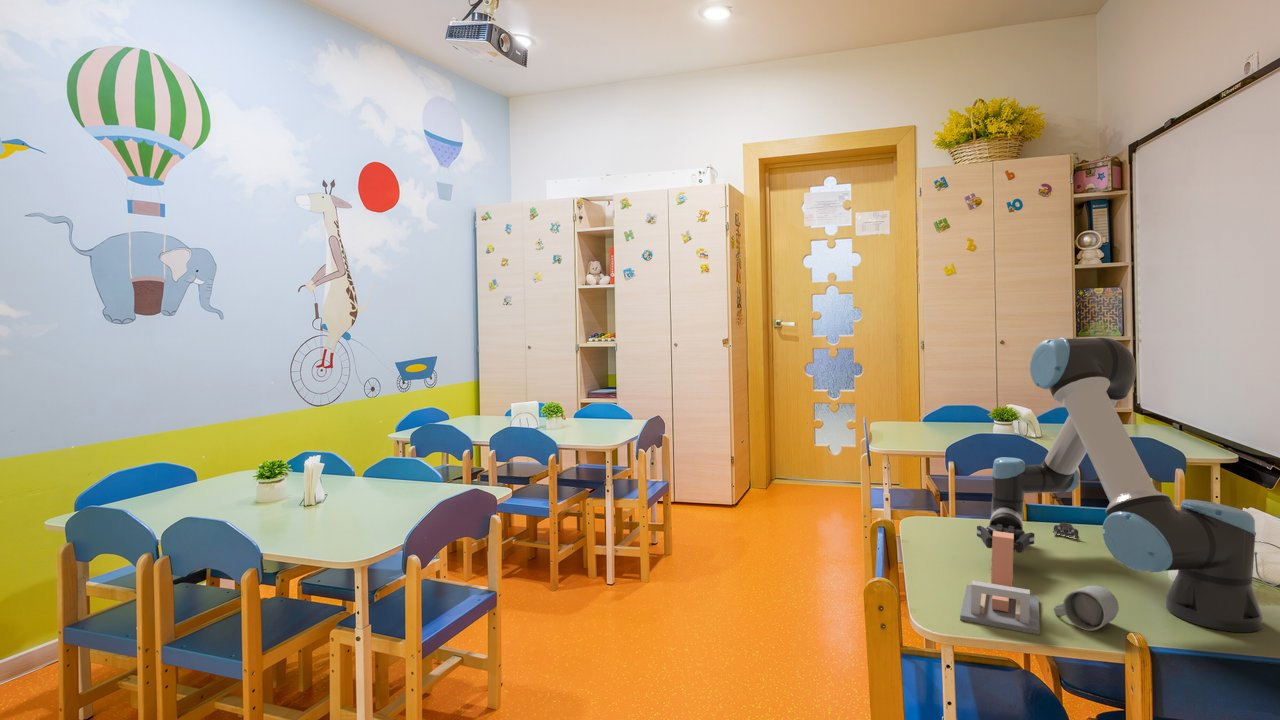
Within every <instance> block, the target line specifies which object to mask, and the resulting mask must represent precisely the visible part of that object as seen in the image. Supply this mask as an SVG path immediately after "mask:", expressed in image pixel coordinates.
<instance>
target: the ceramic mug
mask: <svg viewBox="0 0 1280 720" xmlns="http://www.w3.org/2000/svg"><path fill="white" fill-rule="evenodd" d="M1052 609H1053V611H1054V614H1055V616H1060V617H1062V616H1065V617H1066V618H1067V620H1069V621H1070V623H1071V624H1072V625H1074V626H1075V627H1076V628H1078V629H1081V630H1084V631H1089V632H1092V631H1093V632H1094V631H1097V630H1099V629H1101V628H1102V627H1105V626H1106V625H1107V624H1109V623H1111V622H1112V621H1113V620H1115V618H1116V617H1117V615H1118V613H1119V610H1120V607H1119V601H1118V600H1117V597H1115V595H1114V594H1113V593H1112V592H1111V591H1110V590H1109V589H1108V588H1105V587H1103V586H1100V585H1087V586H1084V587H1081V588H1078V589H1076V590H1075V589H1074V590H1073V591H1070V592H1069V593H1067V595H1066V596H1065V597H1064V599H1063V603H1061V604H1058V605H1055V606H1054V607H1052Z"/></svg>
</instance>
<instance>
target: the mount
mask: <svg viewBox="0 0 1280 720" xmlns="http://www.w3.org/2000/svg"><path fill="white" fill-rule="evenodd" d="M992 595H994V596H1000V597H1006V598H1009V608H1008V612H1006V611H1000V610H995V609H992ZM1039 603H1040V601H1039V596H1037V595H1031V589H1026V588H1021V587H1016V586H1015V587H1014V586H1012V587H1009V586H1003V585H997V584H991V582H984V581H977V580H972V581H971V584H966V588H965V593H964V598H963V603H962V605H961V606H962V607H961V611H960V614H959V617H960V618H959V621H963V620H965V621H964V622H968V621H970V622H969V623H974V622H975V624H980V625H986V626H990V627H996V628H1000V629H1006V630H1011V631H1017V632H1021V633H1028V634H1032V633H1033V635H1038V636H1040V633H1041V632H1040V631H1041V630H1040V627H1041V626H1040V606H1039V605H1040V604H1039Z"/></svg>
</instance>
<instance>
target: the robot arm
mask: <svg viewBox="0 0 1280 720" xmlns="http://www.w3.org/2000/svg"><path fill="white" fill-rule="evenodd" d="M1029 371H1030V377H1031V380H1032V382H1033V384H1034V385H1036V387H1038V388H1040V389H1043V390H1049V392H1050V394H1051V396H1052V397H1053V400H1054V401H1055V403H1058V404H1060V405H1063V406H1065V408H1066V410H1067V412H1068V416H1067V417H1066V420H1065V422H1064V423H1063V425H1062V427H1061V429H1060V431H1059V432H1058V434H1057V436H1056V437H1055V440H1054V441H1053V443H1052V445H1051V448H1050V449H1049V451H1048V452H1047V454H1046V456H1045V458H1044V459H1043V461H1042V462H1041V464H1025V461H1024V460H1023V459H1020V458H1017V457H1006V456H1005V457H1004V456H1003V457H997V458H995V459H994V461H993V466H992V473H991V475H992V495H991V512H990V513H991V515H990V521H989V525H988V526H986V527H985V526H981V525H977V526H976V537H978V538H980V539H981V541H982V542H983V543H984V546H985V547H986V548H987V549H992V536H993V531H999V532H1006V533H1014V546H1013V551H1015V552H1016V553H1019V554H1020V553H1022V552H1023V551H1025V549H1026V550H1027V548H1028V547H1030V546H1031V545H1034V544H1035V533H1034V532H1025V530H1023V528H1024V527H1023V526H1024V523H1023V522H1024V516H1025V515H1024V502H1025V501H1024V500H1025V495H1026V494H1046V493H1047V494H1051V493H1053V494H1054V493H1055V494H1056V493H1057V494H1062V493H1066V492H1067V493H1068V492H1073V491H1075V490H1076V489H1077V488H1078V487H1079V485H1080V482H1079V480H1080V479H1081V478H1080V474H1079V471H1078V468H1079V466H1080V465H1081V463H1082V461H1083V459H1084V458H1085V456H1086V455H1088V458H1089V460H1090V462H1091V465H1092V466H1093V467H1092V468H1093V469H1094V471H1095V473H1096V475H1097V477H1098V479H1099V482H1100V484H1101V486H1102V488H1103V490H1104V493H1105V495H1106V496H1107V497H1106V498H1107V499H1108V501H1109V504H1108V505H1107V507H1106V509H1105V513H1106V516H1107V517H1106V518H1105V519H1104V521H1103V523H1102V529H1103V530H1104V531H1102V537H1103V538H1102V539H1103V541H1104V544H1105V546H1106V549H1108V551H1109V553H1110V554H1111V556H1112V557H1113V558H1114V560H1116V561H1117V562H1118V563H1120V564H1121V565H1123V566H1125V567H1127V568H1129V569H1130V570H1133V571H1137V572H1149V573H1162V572H1164V571H1177V574H1176V576H1175V578H1174V580H1173V582H1172V584H1171V586H1170V588H1169V590H1168V593H1167V594H1166V599H1165V600H1166V601H1165V602H1166V604H1165V608H1166V610H1167V612H1169V613H1170V614H1172V615H1174V616H1175V617H1177V618H1179V619H1181V620H1183V621H1186V622H1189V623H1192V624H1195V625H1197V626H1200V627H1201V626H1202V627H1205V628H1210V629H1213V630H1218V631H1224V632H1225V631H1226V632H1233V633H1252V632H1257V631H1259V630H1261V629H1262V628H1263V614H1262V611H1261V608H1260V604H1259V602H1258V600H1257V596H1256V594H1255V590H1254V587H1253V573H1254V560H1255V558H1254V557H1255V545H1256V536H1257V532H1256V525H1255V524H1256V522H1255V521H1256V520H1255V518H1254V516H1253V515H1252V514H1251V513H1249V512H1248V511H1245V510H1244V509H1240V508H1237V507H1234V506H1230V505H1225V504H1221V503H1217V502H1211V501H1206V500H1205V501H1204V500H1198V499H1182V501H1181V504H1180V505H1179V507H1180V509H1176V506H1175V505H1174V503H1173V501H1172V499H1171V497H1170V496H1169V495H1168V494H1167V493H1166V494H1165V493H1163V492H1161V491H1159V490H1157V488H1156V487H1155V485H1154V483H1153V481H1152V479H1151V477H1150V475H1149V473H1148V471H1147V469H1146V468H1145V465H1144V463H1143V461H1142V459H1141V458H1140V457H1141V456H1139V453H1138V451H1137V449H1136V447H1135V446H1134V443H1133V442H1132V440H1131V437H1130V436H1129V434H1128V432H1127V429H1126V428H1125V426H1124V424H1123V422H1122V420H1121V418H1120V415H1119V414H1118V412H1117V410H1116V408H1115V407H1116V405H1117V403H1118V402H1121V401H1123V400H1125V399H1126V398H1127V396H1128V395H1129V393H1130V392H1131V389H1132V388H1133V385H1134V383H1135V380H1136V375H1137V365H1136V360H1135V357H1134V356H1133V353H1132V352H1131V350H1129V348H1128V347H1127V346H1126V345H1125V344H1123V343H1121V342H1120V341H1118V340H1117V339H1116V340H1115V339H1113V338H1109V337H1084V338H1081V337H1080V338H1079V337H1078V338H1065V337H1059V338H1049V339H1046V340H1043V341H1041V342H1040V343H1039V344H1038V345H1037V346H1036V347H1035V349H1034V351H1033V352H1032V355H1031V360H1030V363H1029Z"/></svg>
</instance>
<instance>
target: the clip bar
mask: <svg viewBox="0 0 1280 720" xmlns="http://www.w3.org/2000/svg"><path fill="white" fill-rule="evenodd" d="M1013 546H1014V533H1006V532H999V531H993V536H992V548H991V578H990V579H991V581H990V583H991V584H997V585H1003V586H1009V587H1013V578H1014V577H1013V576H1014V573H1013V572H1014V571H1013V570H1014V550H1013ZM1008 608H1009V598H1006V597H1000V596H994V595H992V609H995V610H1000V611H1006V612H1008Z"/></svg>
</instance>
